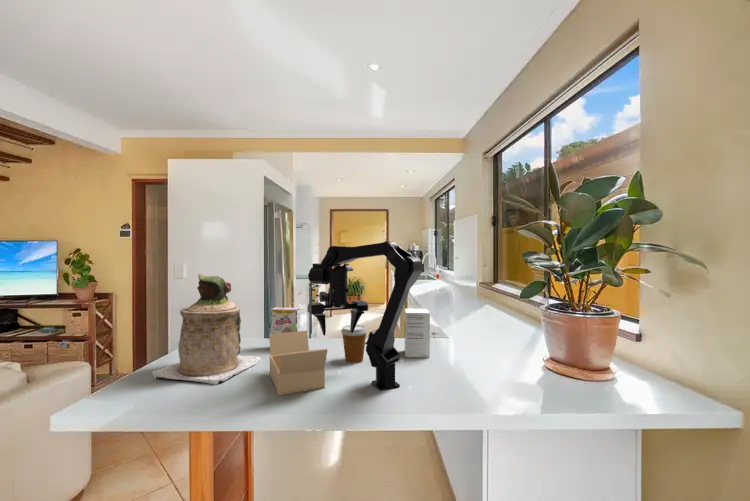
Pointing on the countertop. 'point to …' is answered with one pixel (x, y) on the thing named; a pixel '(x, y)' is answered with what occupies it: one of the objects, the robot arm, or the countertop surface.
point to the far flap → (288, 342)
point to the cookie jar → (209, 337)
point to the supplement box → (417, 333)
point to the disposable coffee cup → (354, 343)
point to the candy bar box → (285, 320)
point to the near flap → (303, 361)
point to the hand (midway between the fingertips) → (338, 334)
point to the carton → (295, 378)
